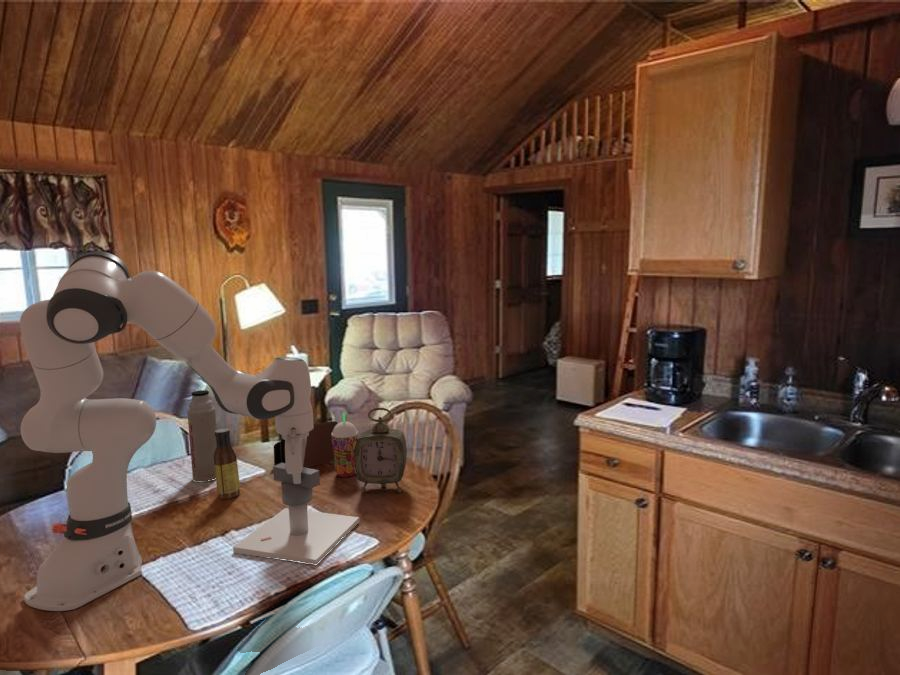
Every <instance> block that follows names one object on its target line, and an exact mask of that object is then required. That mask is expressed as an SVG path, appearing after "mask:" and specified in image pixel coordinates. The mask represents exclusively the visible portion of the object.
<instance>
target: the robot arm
mask: <svg viewBox="0 0 900 675" xmlns="http://www.w3.org/2000/svg"><path fill="white" fill-rule="evenodd" d="M127 323H131V324H135V325H136V326H138V327H139V328H141V329H142V330H143V331H144V332H145V333H147V334H148V336H150V337H151V338H152V339H153V340H154V341H155V342H156V343H157V344H159V345H160V346H161V347H163V348H164V349H165V350H167V351H168V352H169V353H171V354H172V355H174V356H175V357H177V358H179V359H180V360H181V361H183V362H184V363H185V364H186V365H187V366H188V367H189V368H190V369H191V370H192V371H194V373H196V375H197V376H199V378H201V379H202V380H203V381H204V382H205V383H206V385H207V386H208V387H209V388H210V390H211V392H212V393H213V397H214V399H215V401H216V402H217V404H218V406H219V408H220V409H222V410H223V411H225V412H226V413H229V414H234V415H240V416H243V417H247V418H250V419H255V420H258V421H259V420H260V421H261V420H262V421H267V420H270V419H272V418H274V421H275V422H274V424H275V433H276V434H278V435H281V439H284V440H285V462H286V472H287V473H288V474H292V476H293V483H294V484H300V483H301V472H302V471H303V463H304V456H305V449H306V442H307V436H308V435H309V431H311V430H312V429H313V428H314V425H313V424H314V414H313V413H314V412H313V406H312V403H311V395H312V384H311V383H312V381H311V376H310V375H311V374H310V370H309V369H310V368H309V366H308V363H307V362H306V360H304V359H302V358H299V357H291V356H278V357H275V358H274V359H273V361H272V362H271V363H270V365H269V366H268V367H267V368H266V369H264V370H263V371H262V372H259V373H258V374H251V373H247V372H244V371H241V370H239V369H238V370H237V369H235V368H233V367H232V366H231V365H230V364H229V363H228V362H227V361H226V360H225V359H224V358H223V357H222V356H221V355H220V354H219V353H218V351H217V350H215V348H214V347H213V346H212V345H213V343H214V341H215V339H216V335H217V324H216V322H215V321H214V319H213V318H212V316H211V314H210V313H209V312H208V311H207V309H205V307H204V306H203V305H202V304H201V303H200V302H199V301H198V300H197V299H196V298H194V296H193V295H191V294H190V293H189V292H188V291H187V290H186V289H184V287H182V286H181V285H180V284H178V283H177V282H175V281H174V280H173V279H171V277H168V276H167V275H165V273H162V272H161V271H157V270H145V271H142V272H139V273H137V274H135V275H134V276H132V277H131V276H130V271H129V269H128V266H127V265H126V263H125V262H124V261H123V260H122V259H121V258H120V257H118V256H116V255H114V254H112V253H111V252H107V251H101V250H94V251H90V252H87V253H84V254H83V255H82V254H81V255H80V256H78V258H76V259H75V260H74V261H73V262H72V263H71V264H70V266H69V267H68V269H67V270H66V271H65V273H63V275H62V277H60V279H59V280H58V283H57V286H56V287H55V290H54V291H53V295H52V297H51V298H50V299H44V300H40V301H37V302H35V303H33V304H31V305H29V306H27V307H26V309H24V310H23V312H22V313H21V316H20V318H19V325H20V326H19V327H20V333H21V338H22V343H23V347H24V349H25V352H26V355H27V358H28V360H29V363H30V366H31V368H32V370H33V372H34V375H35V378H36V381H37V383H38V387H39V390H40V397H39V401H38V402H37V403H36V404H35V405H34V406H32V407H31V408H29V410H28V411H27V412H26V413H25V414H24V416H23V418H22V421H21V424H20V435H21V439H22V441H23V443H24V444H25V445H26V447H28V448H29V449H30V450H32V451H36V452H38V451H39V452H44V453H45V452H46V453H54V454H59V453H74V452H76V453H77V452H91V453H92V461H91V462H90V463H87V464H86V465H84V466H81V468H79V469H77V470H76V471H75V472H74V473H73V474H72V475H71V476H70V477H69V479H68V482H67V484H66V485H67V486H66V490H67V499H68V500H67V501H68V510H69V511H68V512H69V514H68V516H67V519H66V524H64V523H60V522H56V523H54V524H53V525H52V527H51V531H52V533H53V534H60V535H62V534H63V537H62V538H61V540H60V541H59V542H58V543H57V545H56V546H55V547H54V549H52V551H51V552H50V553H49V554H48V556H47V557H46V558H45V559H44V561H43V562H42V563H41V564H40V565H39V567H38V569H37V574H36V585H35V586H34V587H32V588H31V589H30V590H28V591H27V592H26V593H25V594H24V597H23V602H24V603H25V604H26V605H27V606H29V607H31V608H34V609H36V610H37V609H38V610H42V611H49V612H50V611H51V612H64V611H71V610H76V609H78V608H80V607H83V606H84V605H86V604H88V603H90V602H91V601H93V600H95V599H97V598H100V597H101V596H103V595H105V594H107V593H109V592H111V591H113V590H114V589H117V588H118V587H121V586H122V585H124V584H126V583H127V582H128V583H129V581H132V580H134V579H135V578H137V577H139V576H141V575H142V574H143V571H142V567H141V566H142V564H143V558H142V556H141V554H140V552H139V550H138V547H137V544H136V541H135V536H134V533H133V528H132V522H131V521H132V520H133V515H132V513H133V512H132V508H131V507H132V506H131V503H130V502H129V501H128V500H129V499H128V498H129V497H128V469H129V465H130V463H131V461H132V458H133V457H134V455H135V454H136V452H138V450H139V449H140V448H142V446H143V445H145V444H146V443H147V442H148V441H149V440H150V439H151V438H152V437H153V435H154V432H155V430H156V427H157V416H156V413H155V411H154V409H153V407H152V406H151V405H150V403H148V401H146V400H143V399H142V400H140V399H134V398H127V397H126V398H125V397H120V398H119V397H117V398H103V399H102V398H100V399H99V398H97V399H92V398H88V397H89V396H91V394H93V393H94V392H95V391H96V390H97V389H99V388H100V387H101V384H102V382H103V379H104V369H103V367H102V362H101V361H100V358H99V355H98V352H97V349H96V346H95V342H98V341H101V340H102V339H104V338H106V337H108V336H110V335H113V334H117V333H120V332H122V331H124V330H125V329H126V327H127V325H128V324H127Z"/></svg>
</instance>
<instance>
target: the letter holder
mask: <svg viewBox="0 0 900 675" xmlns="http://www.w3.org/2000/svg"><path fill="white" fill-rule="evenodd" d="M338 423H339V422H337V421H335V420H334V421H324V422H320V423H319V422H318V423H315V424H314V423H313V425H314V428H313V429H312V430H311V431H309V435H308V436H307V442H306V449H305V456H304V463H303V467H305V468H313V467H314V466H315V467H316V466H318V465H321V464H325V463H329V462H331V460H332V461H334V453H333V444H332V435H331V433H332V432H333V429H334V428H335V426H336V425H337V424H338ZM273 463H274V464H273V466H276V465H278V464H280V463H286V462H285V440H284V439H283V438H281V440H280V441H278V442H276V443H274V444H273Z"/></svg>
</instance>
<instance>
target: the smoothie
mask: <svg viewBox="0 0 900 675" xmlns="http://www.w3.org/2000/svg"><path fill="white" fill-rule="evenodd" d="M337 423H338V424H337V425H336V426H335V428H334V429H333V432H332V433H331V435H332V444H333V453H334V460H333V462H334V470H335V473H336V474H337V476H338V477H340V476H341V477H340V478H349V477H348V476H350V477H352V475H353V476H355V475H356V471H355V462H354V453H355V445H356V442H357V439H358V438H359V431H358V429H357V428H356V426H355V425H354V424H353V423H351V422H349V421H346V413H345V412H343V413H342V421H340V422H337ZM354 474H355V475H354Z"/></svg>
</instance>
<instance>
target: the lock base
mask: <svg viewBox="0 0 900 675" xmlns="http://www.w3.org/2000/svg"><path fill="white" fill-rule="evenodd" d="M358 523H359V524H360V517H359V516H354V515H353V516H352V515H351V516H350V515H343V514H335V513H327V512H320V511H312V510H308V503H306V504H303V505H298V506H288V508H287V507H285V508H283V509H281V511H279V512H278V513H276V514H275V515H274V516H273V517H271V518H270V519H269V520H267V521H266V522H264V523H263V524H262V525H261V526H259V527H258V528H256V529H255V530H254V531H252V532H251V533H250V534H248V535H247V536H245V537H244V538H243V539H242V540H240V541H238V543H236V544H235V545H234V546H232V550H233V552H234V553H233V554H237V553H241V554H240V555H243V554H246V555H245V556H249V555H253V556H252V557H256V556H262V557H270V558H279V559H286V560H293V561H300V562H305V563H313V564H317V563H318V562H319V561H320V560H321V559H322V558H323V557H324V556H325V555H326V554H327V553H328V552H329V551H330V550H331V549H332V548H333V547H334V546H335V545H336V544H337V543H338V542H339V541H340V540H341V538H342V537H344V536H345V535H346V534H347V533H348V532H349V531H350V530H352V529H353V528H354V527H355V526H356V525H357V524H358ZM359 524H358V525H359ZM358 525H357V526H358ZM357 526H356V527H357ZM356 527H355V528H356ZM355 528H354V529H355ZM354 529H353V530H354ZM353 530H352V531H353ZM262 557H261V558H262Z"/></svg>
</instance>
